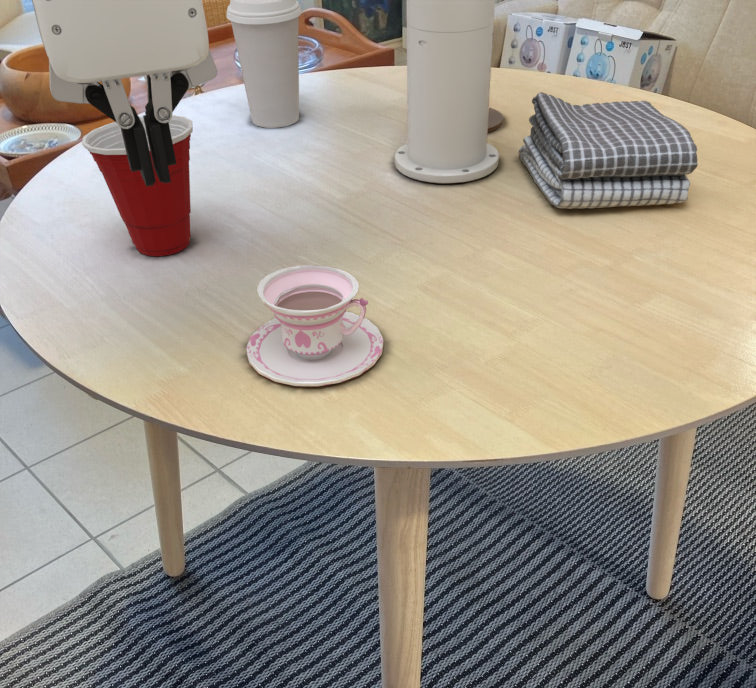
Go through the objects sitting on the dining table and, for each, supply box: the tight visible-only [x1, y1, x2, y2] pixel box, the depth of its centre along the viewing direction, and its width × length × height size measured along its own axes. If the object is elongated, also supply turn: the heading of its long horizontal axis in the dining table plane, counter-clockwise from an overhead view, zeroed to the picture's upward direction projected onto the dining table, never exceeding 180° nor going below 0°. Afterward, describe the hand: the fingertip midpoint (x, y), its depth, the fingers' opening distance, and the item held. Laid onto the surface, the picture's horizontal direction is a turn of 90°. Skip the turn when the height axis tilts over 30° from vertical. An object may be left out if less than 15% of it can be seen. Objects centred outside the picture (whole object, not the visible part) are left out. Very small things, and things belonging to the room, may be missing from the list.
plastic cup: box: [81, 114, 194, 257], centre depth 87 cm, size 11×11×12 cm
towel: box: [518, 91, 699, 210], centre depth 96 cm, size 15×18×8 cm
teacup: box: [245, 264, 384, 387], centre depth 73 cm, size 12×12×6 cm
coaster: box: [487, 107, 504, 134], centre depth 114 cm, size 10×10×1 cm
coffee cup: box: [225, 0, 303, 129], centre depth 112 cm, size 10×10×15 cm
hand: (155, 176), depth 61 cm, fingers closed
